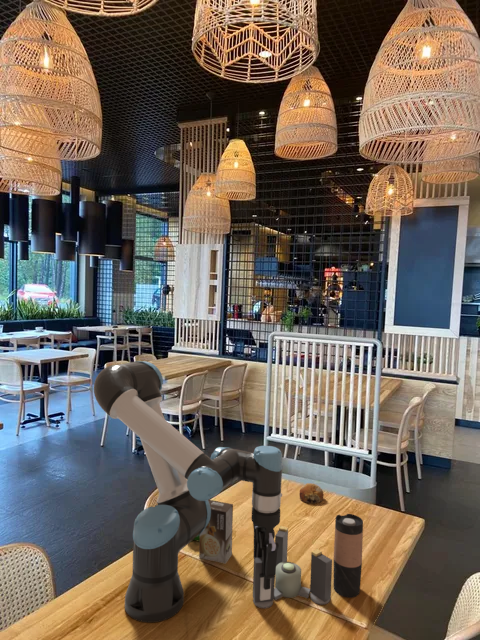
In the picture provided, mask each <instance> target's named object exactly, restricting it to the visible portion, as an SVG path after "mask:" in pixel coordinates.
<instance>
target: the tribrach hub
mask: <svg viewBox="0 0 480 640" xmlns="http://www.w3.org/2000/svg"><path fill="white" fill-rule="evenodd" d="M301 582H302V568H301V567H300V565H298V564H297V563H294V562H291V561H287V562H281V563H279V564H278V565H277V566H276V574H275V585H274V601H277V600H278V599H281V598H282V597H284V598H287V599H288V598H289V599H291V598H296V597H303V598H306V599H309V596H310V595H311V592H310V587H305V586H302V583H301Z"/></svg>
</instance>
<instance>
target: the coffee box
mask: <svg viewBox="0 0 480 640" xmlns="http://www.w3.org/2000/svg"><path fill="white" fill-rule="evenodd" d="M208 501H209V504H210V508H211V517H210V521H209V523H208V525H207V527H206V528H205V529H204V530H203V532H202V533H201V534H200V540H199V541H198V543H199V550H198V551H199V552H198V553H199V554H198V556H199V557H198V558H199V559H203V560H206V561H212V562H217V563H221V564H224V565H225V564H227V563H228V561H229V560H230V558H231V557H232V555H233V520H234V519H233V517H234V516H233V514H234V512H233V511H234V504H232V503H228V502H223V501H217V500H212V499H209V500H208Z"/></svg>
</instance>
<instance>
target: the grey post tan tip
mask: <svg viewBox="0 0 480 640" xmlns="http://www.w3.org/2000/svg"><path fill="white" fill-rule="evenodd" d="M310 555H311V559H310V560H311V562H310V586H309V589H310V594H309V596H310V600H311V602H313V603H315V605H316V604H317V605H321V606H322V605H324V606H325V605H328V604H329V603H330V602H331V599H332V597H331V596H332V575H333V574H332V573H333V572H332V571H333V559H331V558H329V557H328V556H326V555H325V554H323V551H322V550H320V549H318V548H316V549H315V550H312V551H311V554H310Z"/></svg>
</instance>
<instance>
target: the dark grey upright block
mask: <svg viewBox="0 0 480 640" xmlns="http://www.w3.org/2000/svg"><path fill="white" fill-rule="evenodd" d="M252 574H253V576H252V580H253V581H252V599H253V601H252V602H253V605H254V606H256V608H259V609H269V608H271V607H272V605H273V603H274V601H275V600H274V588H275V578H276V577H275V578H271V597H270V599H268V600H262V601H260V575H259V574H262V557H259V558H254V557H253V573H252Z"/></svg>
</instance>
